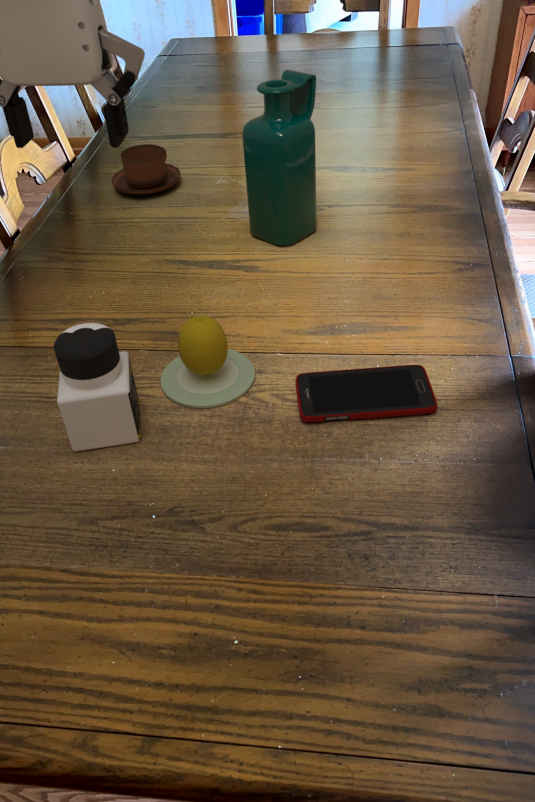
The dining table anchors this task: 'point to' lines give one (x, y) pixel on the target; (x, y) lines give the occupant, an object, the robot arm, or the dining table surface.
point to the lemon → (202, 345)
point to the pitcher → (282, 161)
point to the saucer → (208, 382)
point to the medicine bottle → (96, 388)
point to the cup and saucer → (145, 171)
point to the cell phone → (364, 393)
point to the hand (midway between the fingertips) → (71, 142)
